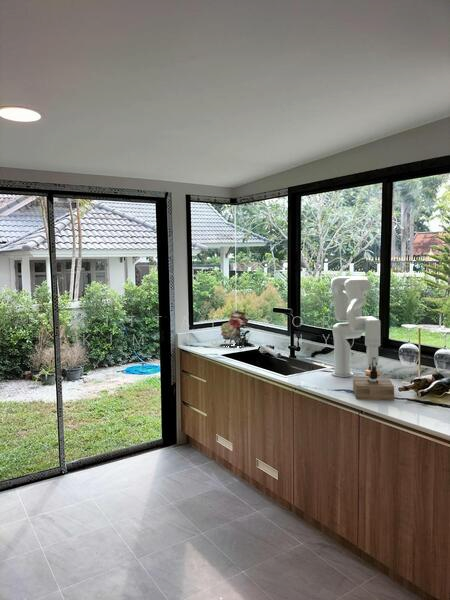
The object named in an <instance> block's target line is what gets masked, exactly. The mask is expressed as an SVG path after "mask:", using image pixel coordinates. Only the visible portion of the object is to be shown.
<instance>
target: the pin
mask: <svg viewBox="0 0 450 600" xmlns="http://www.w3.org/2000/svg"><path fill="white" fill-rule="evenodd" d="M370 371H371V369H369V368H367V369H365V376H369V382H377V379H371V378H370ZM377 377H381V370H380V369H378V368H377Z"/></svg>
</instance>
